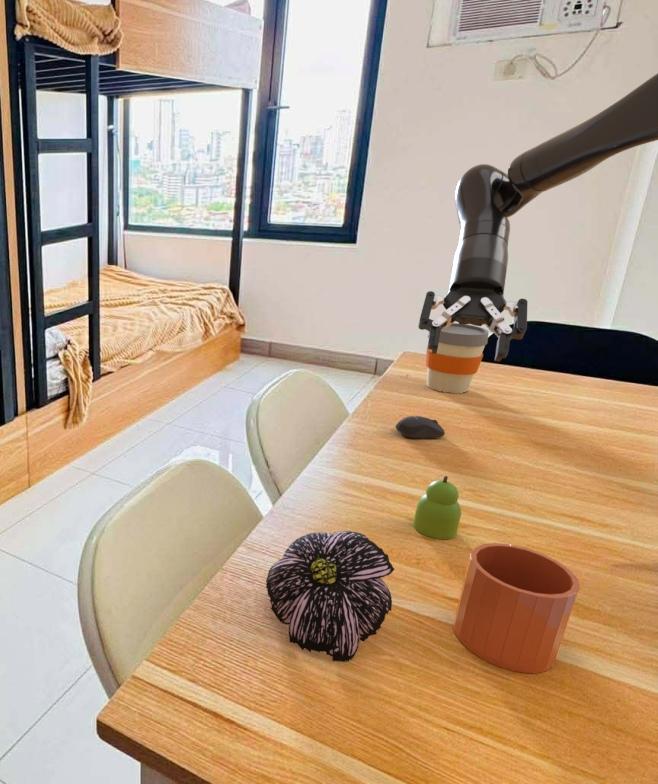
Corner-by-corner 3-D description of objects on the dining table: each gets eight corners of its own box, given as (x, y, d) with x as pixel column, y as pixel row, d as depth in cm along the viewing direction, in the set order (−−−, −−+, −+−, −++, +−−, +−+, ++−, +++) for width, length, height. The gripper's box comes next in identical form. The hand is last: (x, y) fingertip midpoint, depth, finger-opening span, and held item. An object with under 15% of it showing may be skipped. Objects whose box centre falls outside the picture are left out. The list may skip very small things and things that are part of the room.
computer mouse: (448, 439, 126) (452, 421, 125) (404, 440, 126) (407, 422, 125) (431, 428, 132) (435, 410, 130) (389, 429, 131) (392, 412, 130)
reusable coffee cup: (410, 386, 156) (421, 328, 151) (429, 376, 164) (440, 320, 159) (466, 399, 148) (480, 338, 143) (483, 387, 156) (496, 328, 151)
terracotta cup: (564, 641, 73) (588, 569, 69) (543, 688, 66) (568, 610, 63) (468, 601, 80) (485, 533, 76) (440, 639, 73) (458, 567, 70)
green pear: (461, 529, 95) (474, 476, 92) (448, 544, 92) (461, 489, 89) (421, 514, 99) (432, 463, 96) (407, 528, 96) (417, 475, 93)
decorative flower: (238, 546, 74) (335, 490, 78) (235, 597, 82) (323, 543, 86) (330, 648, 64) (436, 577, 68) (317, 695, 72) (413, 629, 76)
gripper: (432, 252, 102) (416, 336, 97) (537, 258, 96) (527, 348, 90) (426, 280, 108) (411, 360, 103) (525, 287, 102) (515, 373, 96)
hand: (466, 354), depth 96 cm, fingers open, 8 cm apart
